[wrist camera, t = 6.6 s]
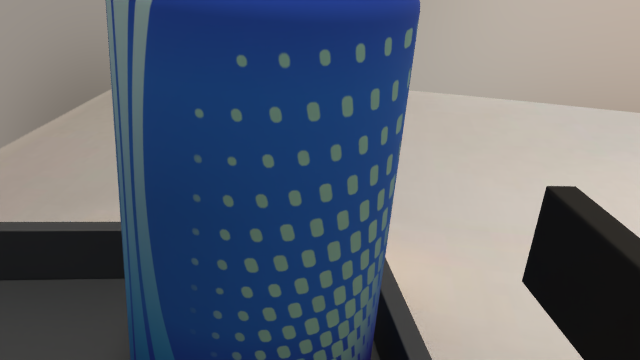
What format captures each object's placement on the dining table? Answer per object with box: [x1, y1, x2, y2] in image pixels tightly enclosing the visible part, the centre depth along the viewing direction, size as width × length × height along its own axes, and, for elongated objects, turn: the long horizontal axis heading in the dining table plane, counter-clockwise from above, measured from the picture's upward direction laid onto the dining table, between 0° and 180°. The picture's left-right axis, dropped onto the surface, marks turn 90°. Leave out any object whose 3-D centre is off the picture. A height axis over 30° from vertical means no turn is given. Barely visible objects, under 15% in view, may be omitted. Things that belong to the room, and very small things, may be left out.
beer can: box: [106, 0, 420, 360], centre depth 18 cm, size 8×8×16 cm
